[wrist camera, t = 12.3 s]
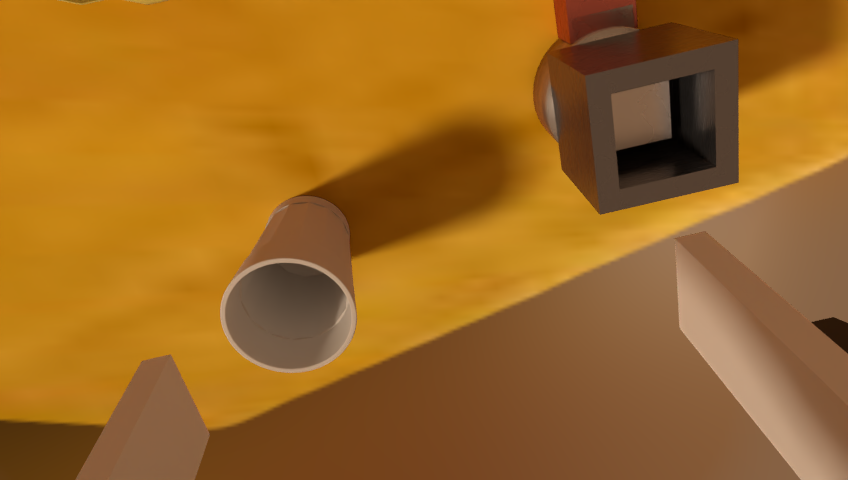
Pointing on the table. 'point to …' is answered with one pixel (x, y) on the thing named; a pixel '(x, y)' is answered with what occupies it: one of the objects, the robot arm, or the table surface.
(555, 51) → the socket
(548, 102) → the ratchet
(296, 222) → the cup
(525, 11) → the table surface
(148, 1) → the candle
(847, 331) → the robot arm
